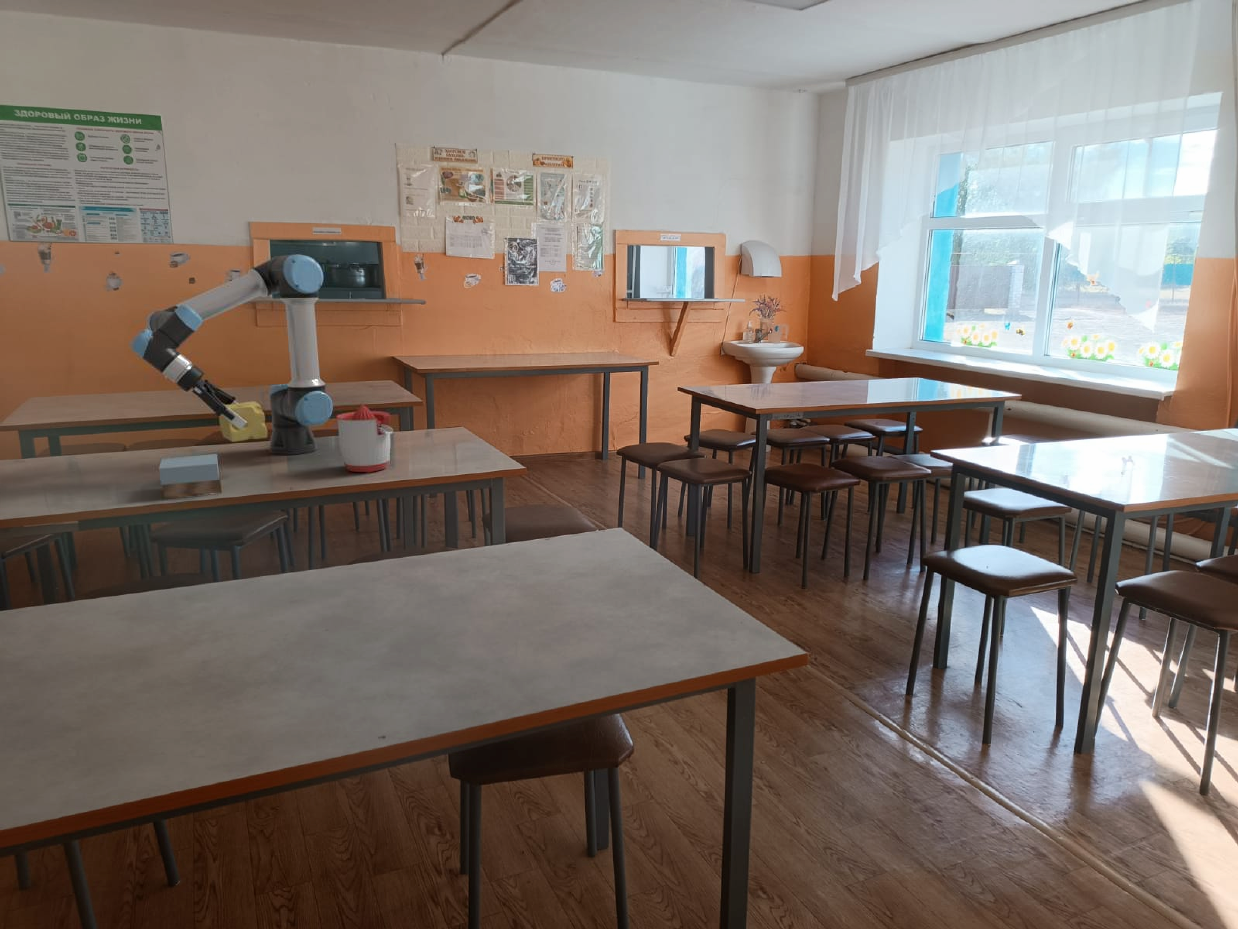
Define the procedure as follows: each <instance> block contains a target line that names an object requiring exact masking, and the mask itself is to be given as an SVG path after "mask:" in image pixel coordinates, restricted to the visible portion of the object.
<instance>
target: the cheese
mask: <svg viewBox="0 0 1238 929" xmlns="http://www.w3.org/2000/svg"><path fill="white" fill-rule="evenodd" d="M223 405H224V406H225V407H226V408H229V409H231V410H232V411H233V412H234V413H236V414H237V415H238V416H240V417H241V418H242V419H244V420H245V421H246V422H247V423H246V424H245V425H244V426H243V427H242V428H241V429H239V428H238V427H236V426H235V425H234V424H233V423H231V422H230V421H229V420H227V419H226V418H225V417H223V416H222V414H221V415H220V416H218V419H219V426H220V432H221V434H222V437H223V438H224V439H227V440H228V441H230V442H232V443H236V442H242V441H248V440H250V439H252V440H254V439H255V440H259V439H266V438H268V429H267V426H266V422H265V421H266V415H265V413H264V411H263V410H262V407H261V404H259V403H258V402H256V401H254V400H253V401H246V402H245V401H244V402H239V403H238V404H230V405H225V404H223Z"/></svg>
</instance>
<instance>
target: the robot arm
mask: <svg viewBox="0 0 1238 929" xmlns="http://www.w3.org/2000/svg"><path fill="white" fill-rule="evenodd" d="M323 282H324V273H323V269H322V267H321V265H320V264H319V262H317V261H316V260H315V259H314V258H313V257H310V256H309V255H304V254H288V255H287V254H282V255H278V256H274V257H272V258H270V259H268V260H266V261H264V262H262V263H261V264H259V265H257V266H255V267H252V268H249V269H248V271H247V273H246V274H244V275H242V276H239V277H237V278H235V279H233V280H230V281H228V282H226V283H224V284H221V285H219V286H217V287H214V288H212V289H209V290H208V291H205V292H203V293H200V294H198V295H196V296H193V297H190V298H189V299H186V300H184V301H182V302H179V303H177V304H175V305H174V306H170V307H168V308H165V309H163V310H157V311H154V312H151V313H150V314H149V315H148V317H147V319H146V327H147V328H144V329H143V330H142V331H141V332H139V334H138V335H136V336H135V337H134V339H132V341H131V343H130V345H129V346H130V349H131V350H132V352H134V353H135V354H136V355H138V356H139V357H140V358H141V359H142V360H144V361H145V362H146V363H148V364H149V365H150V366H152V367H153V368H154V369H156V370H157V371H159V372H160V373H161V374H162V375H164V378H165V379H166V380H168V379H169V380H170V381H171V382H173V383H176V385H177V386H178V387H179V388H180V389H182V390H183V391H185V392H190V391H191V392H192V393H193V394H195V395H196V397H198V398H199V399H200V400H202V402H204V403H205V404H206V405H207V406H208V407H209V408H210V409H211V410H212V411H213V412H215V414H216V416H217V417H219V416H220V415H221V414H222V416H223V417H225V418H226V419H227V420H229V421H230V422H231V423H233V424H234V425H235V426H236V427H238V428H239V429H241V428H242V427H243V426H244V425H245V424H246V423H247V422H246V421H245V420H244V419H242V418H241V417H240V416H238V415H237V414H236V413H234V412H233V411H232V410H231V409H229V408H226V407H225V406H224V405H230V404H239V403H238V402H237V401H236V399H237V398H236V397H235V396H232V395H230V394H229V393H227V392H225V391H224V390H222V389H221V388H219V387H218V386H216V385H215V384H213V383H212V382H210V381H209V380H208V379H207V378H205V379H204V380H203V379H202V378H203V376H204V375H205V372H204V371H203V370H202V369H200V368H199V367H198V366H197V365H193V362H192V361H190V360H189V359H188V358H187V357H186V356H184V355H183V354H181V353H180V352H179V351H177V350H178V348H180V347H181V346H182V345H183V344H184V343H185V342H186V341H187V340H188V339H190V337H191V336H192V335H193V334H194V333H196V331H198V328H200V326H201V325H202V324H203V322H205V321H207V320H209V319H212V318H214V317H216V316H218V315H221V314H222V313H225V312H227V311H229V310H232V309H234V308H236V307H238V306H241V305H243V304H245V303H248V302H249V301H252V300H254V299H256V298H258V297H262V298H267V297H269V296H272V295H275V294H279V300H280V301H282V302H283V303H284V304H285V315H286V326H287V337H288V338H287V339H288V349H289V350H288V351H289V361H290V373H291V374H290V375H291V380H290V381H289V382H288V383H283V384H273V385H271V386H270V388H269V399H270V409H271V410H270V411H271V421H272V433H271V437H270V441H269V445H268V447H269V448H268V449H269V453H271V454H273V455H283V456H285V455H286V456H289V455H290V456H291V455H300V454H306V453H311V452H314V451H317V449H318V447H317V441H316V439H315V436H314V434H313V432H312V430H311V429H312V428H311V427H319V426H321V425H323V424H325V423H326V422H327V421H328V420H329V418H331V416H332V413H333V410H334V409H333V408H334V407H333V406H334V405H333V401H332V399H331V397H330V396H329V394H327V392H326V383H325V381H323V380H322V379H321V377H320V375H321V374H320V362H319V351H318V350H319V349H318V338H317V324H316V323H317V322H316V312H315V310H316V309H315V303H316V302H317V301H318V300H319V298H320V297H319V296H320V295H319V289H320V288H321V287H322V285H323ZM191 389H192V390H191Z"/></svg>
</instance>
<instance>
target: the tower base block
mask: <svg viewBox="0 0 1238 929" xmlns="http://www.w3.org/2000/svg"><path fill="white" fill-rule="evenodd" d="M162 490H163V497H164V498H163V499H164V500H165V501H166V500H175V498H176V499H183V498H182V497H185V498H188V497H187V496H195V497H199V496H198V495H204V494H210V493H222V494H223V492H222V482H221V476H220V474H219V480H210V481H199V482H189V483H178V484H167V485H162ZM204 496H205V495H204Z"/></svg>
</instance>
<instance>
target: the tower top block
mask: <svg viewBox="0 0 1238 929" xmlns="http://www.w3.org/2000/svg"><path fill="white" fill-rule="evenodd" d="M218 461H219V459H218V454H217V453H213V454H211V453H210V454H199V455H188V456H185V455H184V456H175V457H174V456H173V457H162V458H161V461H160V464H159V468H158V471H159V480H160V485H161V486H163V485H167V484H178V483H189V482H199V481H210V480H219V475H220V472H219V471H220V470H219V462H218Z"/></svg>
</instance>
